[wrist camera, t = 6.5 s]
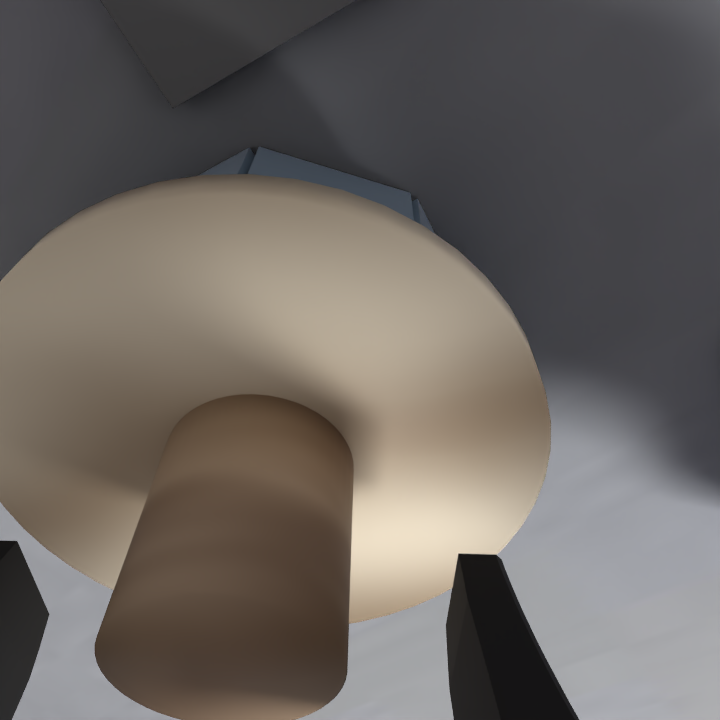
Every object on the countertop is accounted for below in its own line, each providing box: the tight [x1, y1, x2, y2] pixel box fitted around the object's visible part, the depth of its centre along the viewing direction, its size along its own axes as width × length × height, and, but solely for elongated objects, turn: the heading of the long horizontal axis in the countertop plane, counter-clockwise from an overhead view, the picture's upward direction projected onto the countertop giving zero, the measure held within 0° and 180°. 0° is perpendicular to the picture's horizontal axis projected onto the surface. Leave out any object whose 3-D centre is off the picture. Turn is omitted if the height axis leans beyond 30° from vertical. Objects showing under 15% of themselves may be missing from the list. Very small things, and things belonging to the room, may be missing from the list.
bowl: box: [198, 147, 435, 234], centre depth 16 cm, size 9×9×4 cm
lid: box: [0, 174, 551, 720], centre depth 12 cm, size 11×11×5 cm
